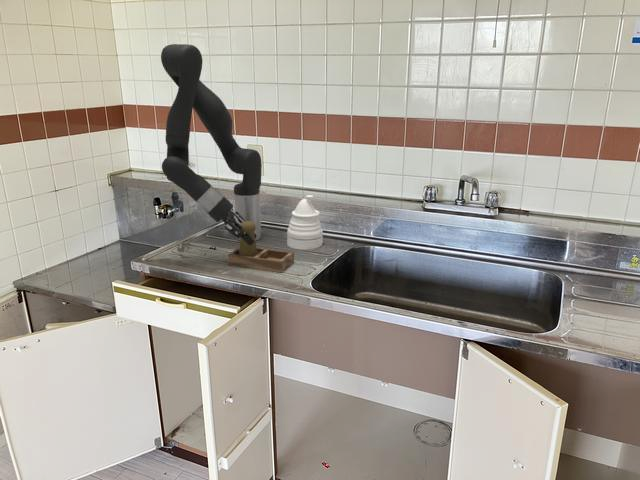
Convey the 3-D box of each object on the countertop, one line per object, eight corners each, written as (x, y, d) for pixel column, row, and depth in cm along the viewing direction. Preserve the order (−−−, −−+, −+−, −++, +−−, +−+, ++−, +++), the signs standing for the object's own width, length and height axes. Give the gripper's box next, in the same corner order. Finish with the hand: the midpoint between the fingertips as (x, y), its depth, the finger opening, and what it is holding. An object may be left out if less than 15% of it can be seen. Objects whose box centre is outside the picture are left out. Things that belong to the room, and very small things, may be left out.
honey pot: (329, 242, 187) (330, 194, 182) (310, 252, 177) (310, 201, 171) (300, 236, 194) (300, 189, 188) (280, 245, 184) (279, 196, 178)
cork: (257, 257, 164) (257, 224, 161) (238, 257, 163) (237, 224, 160) (257, 251, 170) (256, 219, 166) (238, 251, 169) (237, 219, 165)
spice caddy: (243, 255, 173) (242, 245, 172) (293, 262, 167) (293, 252, 166) (228, 264, 165) (227, 254, 163) (281, 272, 158) (281, 262, 157)
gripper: (218, 201, 154) (259, 240, 157) (226, 190, 167) (264, 226, 171) (201, 218, 155) (242, 256, 159) (211, 206, 169) (248, 241, 173)
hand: (253, 240), depth 165 cm, fingers closed on cork, 4 cm apart
